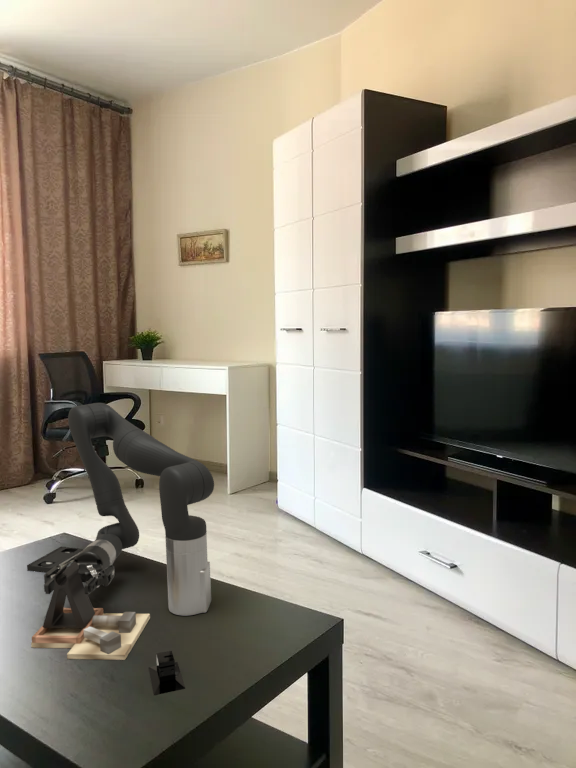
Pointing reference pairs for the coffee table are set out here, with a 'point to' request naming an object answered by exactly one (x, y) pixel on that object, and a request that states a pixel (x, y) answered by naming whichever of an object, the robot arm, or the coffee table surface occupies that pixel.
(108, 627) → the stand
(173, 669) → the black slotted box
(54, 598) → the phone stand
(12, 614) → the coffee table surface
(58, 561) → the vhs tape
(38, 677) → the coffee table surface
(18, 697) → the coffee table surface
